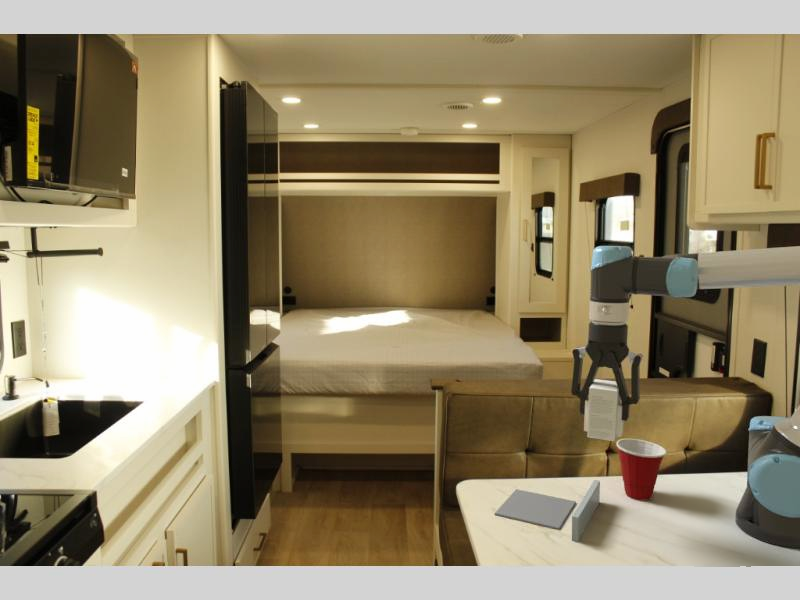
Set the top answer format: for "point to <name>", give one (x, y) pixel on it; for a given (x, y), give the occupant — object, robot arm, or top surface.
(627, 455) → the plastic cup
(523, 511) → the mat
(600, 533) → the top surface
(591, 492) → the low wall
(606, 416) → the small box
